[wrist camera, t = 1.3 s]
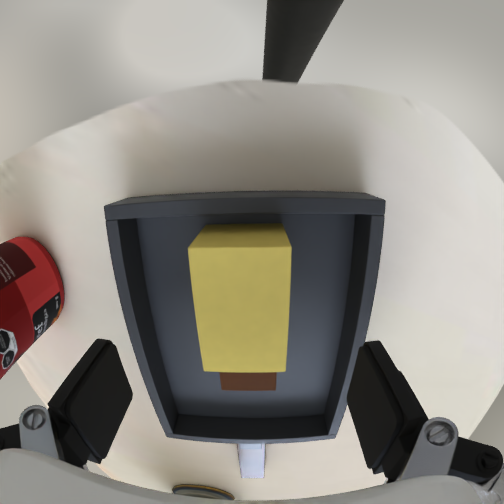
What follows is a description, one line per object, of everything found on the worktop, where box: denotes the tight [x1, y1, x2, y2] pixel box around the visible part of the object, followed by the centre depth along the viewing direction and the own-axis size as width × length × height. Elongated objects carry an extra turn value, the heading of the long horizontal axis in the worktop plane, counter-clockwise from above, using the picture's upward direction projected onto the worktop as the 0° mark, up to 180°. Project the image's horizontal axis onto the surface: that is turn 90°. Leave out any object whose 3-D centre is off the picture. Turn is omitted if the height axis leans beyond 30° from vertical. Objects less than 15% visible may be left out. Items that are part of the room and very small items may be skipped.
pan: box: [104, 191, 386, 444], centre depth 17 cm, size 20×15×3 cm
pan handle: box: [237, 444, 265, 478], centre depth 22 cm, size 11×3×3 cm, turn 1°
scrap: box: [219, 372, 277, 391], centre depth 18 cm, size 4×4×1 cm
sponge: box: [188, 223, 292, 372], centre depth 15 cm, size 7×4×4 cm, turn 1°
